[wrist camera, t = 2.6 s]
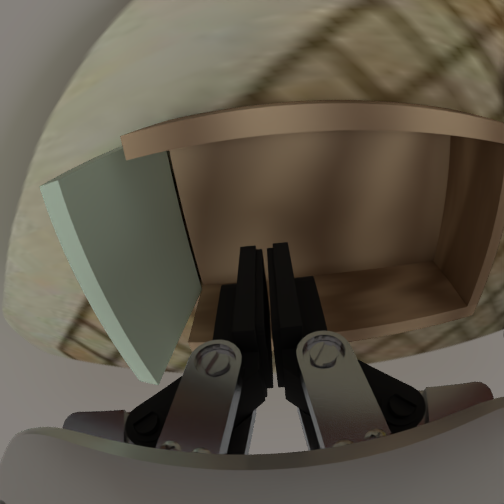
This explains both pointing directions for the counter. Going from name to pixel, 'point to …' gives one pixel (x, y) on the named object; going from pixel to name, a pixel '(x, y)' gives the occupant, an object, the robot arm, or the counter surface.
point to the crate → (342, 205)
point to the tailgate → (128, 252)
